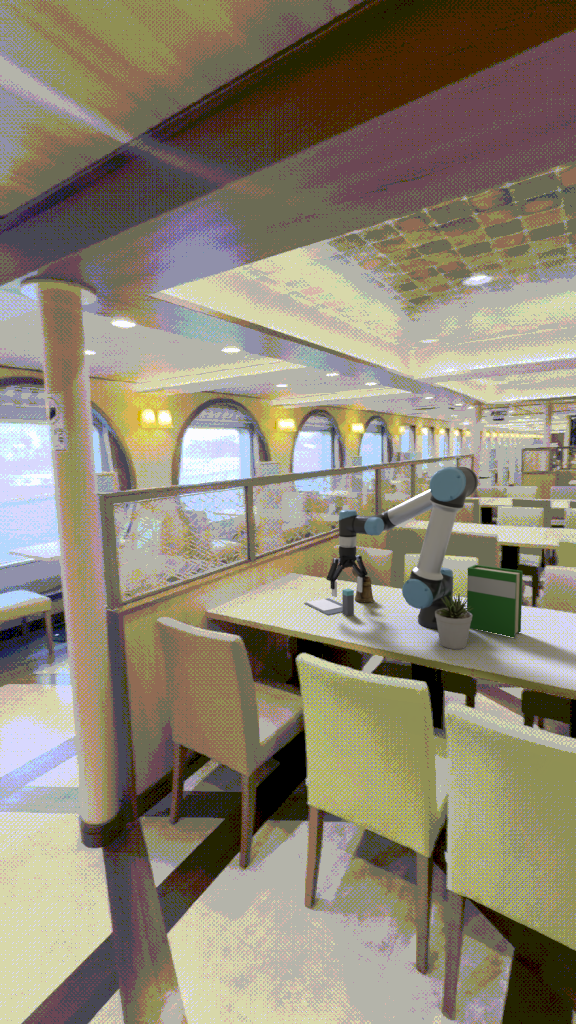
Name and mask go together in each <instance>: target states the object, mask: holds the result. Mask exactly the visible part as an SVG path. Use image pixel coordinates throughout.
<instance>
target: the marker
mask: <svg viewBox="0 0 576 1024" xmlns="http://www.w3.org/2000/svg"><path fill="white" fill-rule="evenodd" d="M354 592H355V590H354V589H351V588H344V589H342V591H341V593H342V602H341V603H342V604H343V612H342V615H343V614H344V615H343V616H345V615H346V616H345V617H347V616H348V617H352V616H354V615H355V594H354ZM351 615H352V616H351Z"/></svg>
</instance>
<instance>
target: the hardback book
mask: <svg viewBox="0 0 576 1024" xmlns="http://www.w3.org/2000/svg"><path fill="white" fill-rule="evenodd" d="M466 579H467V582H466V583H467V584H466V585H467V588H466V591H467V592H466V593H467V594H466V597H467V598H468V600H467V598H466V600H467V602H466V608H468V607H469V608H468V609H466V610H469V609H471V610H469V611H468V612H470V613H471V614H472V621H471V624H470V629H471V628H473V629H472V630H475V629H478V630H477V631H479V630H483V631H482V632H484V631H488V632H492V633H497V634H502V635H506V636H510V637H515V638H516V634H518V633H517V632H522V605H523V601H522V599H523V570H518V569H510V568H502V567H495V566H488V565H481V564H474V565H472V566H469V567H467V578H466ZM467 595H468V596H467ZM470 606H471V607H470ZM472 608H473V609H472ZM488 632H487V633H488ZM492 633H491V634H492ZM497 634H496V635H497Z"/></svg>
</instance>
